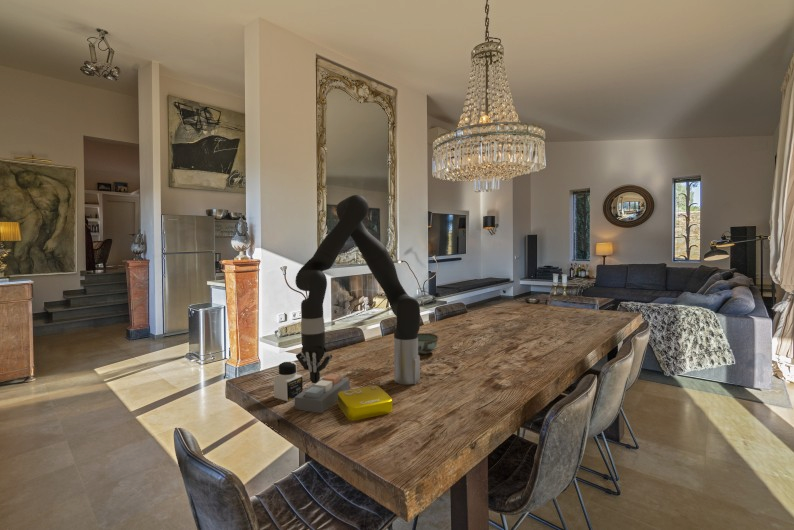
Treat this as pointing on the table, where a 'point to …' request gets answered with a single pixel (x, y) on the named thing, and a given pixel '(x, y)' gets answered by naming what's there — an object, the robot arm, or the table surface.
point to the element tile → (364, 402)
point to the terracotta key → (332, 378)
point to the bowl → (426, 343)
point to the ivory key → (324, 385)
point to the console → (321, 397)
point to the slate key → (314, 392)
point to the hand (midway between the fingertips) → (315, 382)
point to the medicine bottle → (287, 382)
